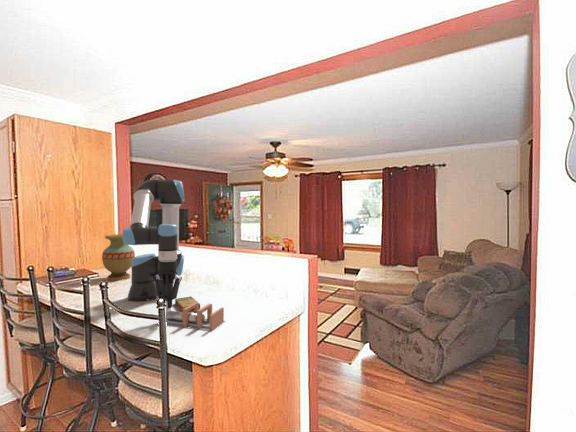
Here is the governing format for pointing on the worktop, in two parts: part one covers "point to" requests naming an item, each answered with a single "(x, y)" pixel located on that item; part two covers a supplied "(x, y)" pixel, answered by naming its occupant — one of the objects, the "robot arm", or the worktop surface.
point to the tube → (179, 317)
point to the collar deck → (200, 318)
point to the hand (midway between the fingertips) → (167, 315)
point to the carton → (185, 303)
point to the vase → (117, 258)
